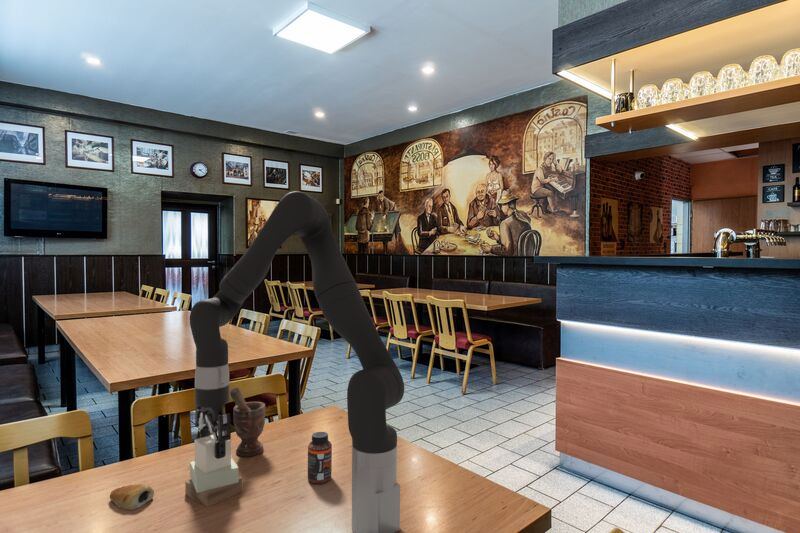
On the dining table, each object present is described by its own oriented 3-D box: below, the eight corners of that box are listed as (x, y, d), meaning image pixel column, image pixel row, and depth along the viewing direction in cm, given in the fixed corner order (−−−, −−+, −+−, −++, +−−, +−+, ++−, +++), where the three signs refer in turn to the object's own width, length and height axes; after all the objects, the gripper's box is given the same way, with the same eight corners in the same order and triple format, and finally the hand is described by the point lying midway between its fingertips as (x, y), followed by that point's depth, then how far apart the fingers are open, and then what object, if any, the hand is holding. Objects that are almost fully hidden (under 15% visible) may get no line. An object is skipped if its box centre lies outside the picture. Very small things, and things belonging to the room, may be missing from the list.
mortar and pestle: (258, 462, 126) (258, 389, 125) (226, 463, 125) (226, 389, 125) (267, 445, 137) (268, 377, 137) (237, 446, 137) (237, 378, 136)
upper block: (238, 482, 109) (238, 467, 109) (197, 492, 104) (197, 477, 104) (229, 467, 116) (229, 453, 116) (190, 476, 111) (190, 462, 111)
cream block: (231, 465, 110) (231, 439, 110) (205, 473, 106) (205, 447, 105) (219, 457, 114) (219, 432, 114) (194, 464, 110) (194, 439, 110)
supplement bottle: (326, 486, 113) (326, 439, 113) (303, 483, 115) (303, 437, 114) (334, 474, 119) (335, 430, 119) (313, 472, 121) (313, 428, 120)
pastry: (100, 505, 104) (100, 488, 104) (127, 491, 111) (127, 475, 111) (133, 513, 101) (133, 495, 101) (158, 498, 108) (158, 481, 108)
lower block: (242, 492, 111) (242, 477, 111) (207, 508, 104) (207, 493, 104) (219, 481, 116) (220, 467, 116) (185, 496, 109) (185, 481, 109)
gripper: (241, 386, 107) (241, 456, 107) (215, 375, 117) (215, 439, 117) (208, 393, 102) (208, 466, 102) (184, 380, 112) (184, 447, 112)
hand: (212, 451), depth 110 cm, fingers open, 8 cm apart
